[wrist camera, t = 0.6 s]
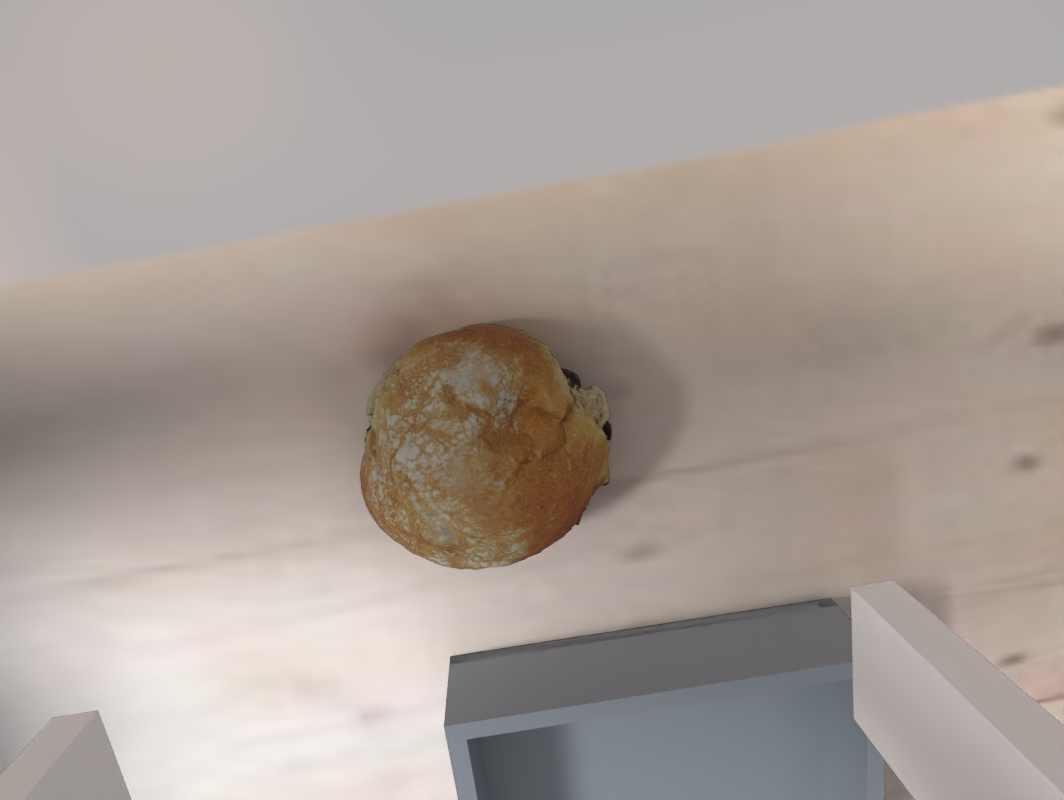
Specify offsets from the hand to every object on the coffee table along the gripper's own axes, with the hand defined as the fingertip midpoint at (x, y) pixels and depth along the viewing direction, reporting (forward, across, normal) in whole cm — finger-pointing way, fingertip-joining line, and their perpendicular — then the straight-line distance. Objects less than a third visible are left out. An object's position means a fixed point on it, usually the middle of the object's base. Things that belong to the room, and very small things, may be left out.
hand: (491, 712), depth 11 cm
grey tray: (+17, +5, -20) cm, 27 cm away
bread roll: (+18, 0, 0) cm, 18 cm away
